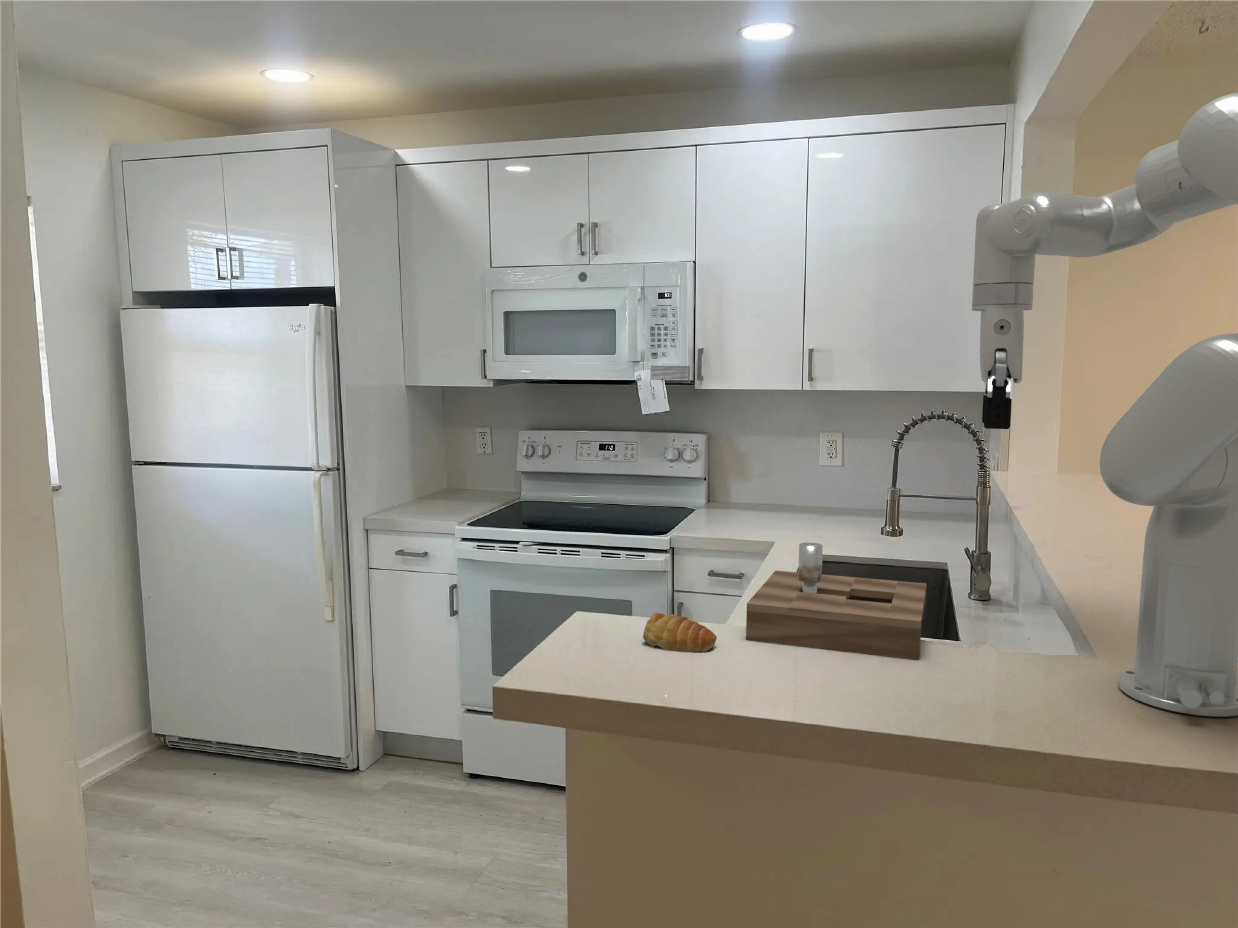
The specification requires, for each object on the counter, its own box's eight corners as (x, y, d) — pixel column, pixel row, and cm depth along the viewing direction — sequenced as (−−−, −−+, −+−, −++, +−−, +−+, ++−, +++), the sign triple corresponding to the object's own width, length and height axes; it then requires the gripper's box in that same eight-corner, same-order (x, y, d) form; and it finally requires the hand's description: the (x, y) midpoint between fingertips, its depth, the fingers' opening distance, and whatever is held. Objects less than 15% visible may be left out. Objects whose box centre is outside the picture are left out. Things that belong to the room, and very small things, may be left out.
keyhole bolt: (822, 630, 123) (824, 549, 122) (790, 627, 125) (792, 546, 123) (826, 622, 127) (828, 543, 126) (795, 619, 129) (797, 540, 128)
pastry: (724, 644, 118) (724, 616, 118) (703, 659, 112) (703, 630, 112) (660, 633, 123) (661, 606, 122) (637, 647, 117) (637, 619, 116)
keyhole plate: (919, 659, 111) (921, 621, 111) (745, 639, 119) (746, 603, 119) (925, 616, 130) (926, 583, 129) (774, 601, 138) (775, 570, 137)
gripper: (1038, 294, 111) (1030, 431, 113) (1028, 302, 127) (1021, 422, 129) (973, 295, 113) (966, 430, 115) (971, 303, 129) (965, 421, 131)
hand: (995, 426), depth 122 cm, fingers open, 9 cm apart
